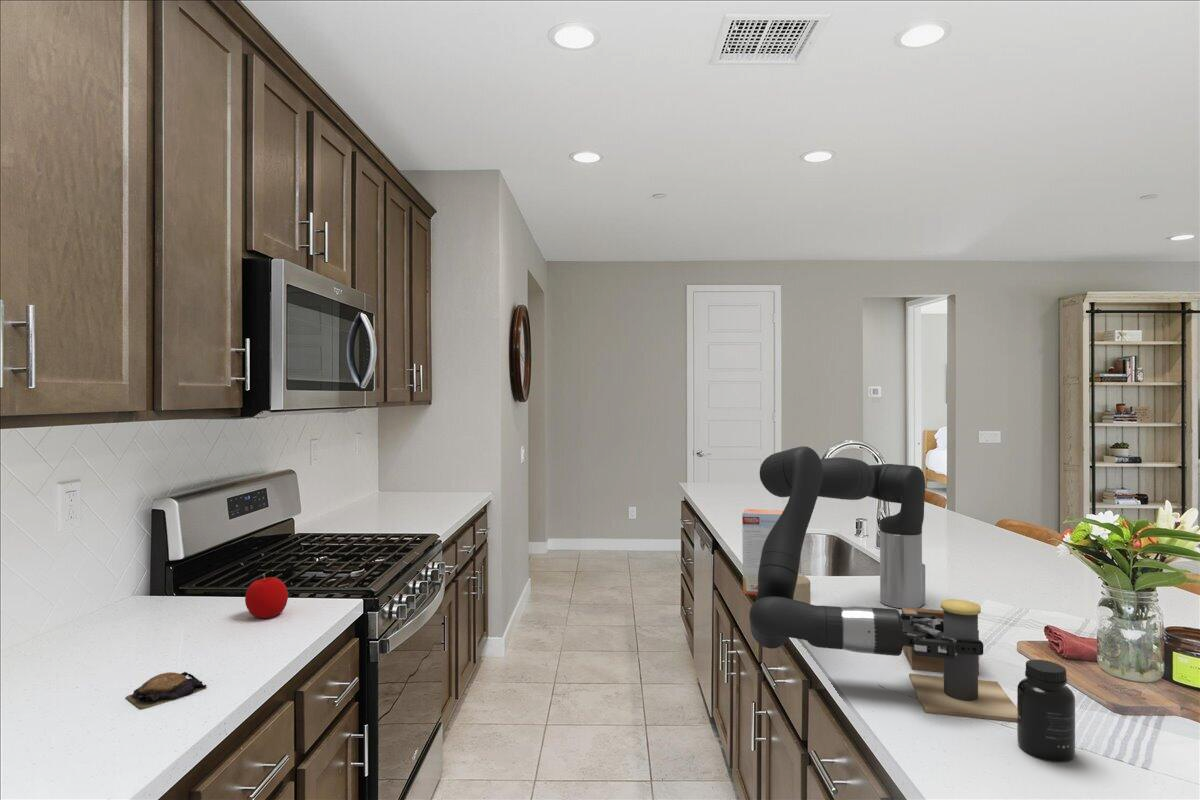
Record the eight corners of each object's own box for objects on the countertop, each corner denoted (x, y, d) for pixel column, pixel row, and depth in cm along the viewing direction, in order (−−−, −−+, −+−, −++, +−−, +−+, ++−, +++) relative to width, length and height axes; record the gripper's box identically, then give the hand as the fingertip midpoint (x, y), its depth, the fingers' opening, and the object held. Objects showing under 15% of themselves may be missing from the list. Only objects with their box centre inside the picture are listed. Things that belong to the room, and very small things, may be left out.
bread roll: (140, 715, 109) (140, 692, 109) (122, 700, 114) (122, 678, 114) (211, 692, 117) (211, 670, 117) (192, 679, 123) (192, 658, 122)
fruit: (238, 616, 156) (238, 572, 156) (279, 607, 163) (278, 565, 163) (254, 625, 150) (253, 580, 150) (295, 615, 157) (295, 572, 156)
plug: (959, 684, 116) (959, 597, 116) (989, 698, 110) (989, 607, 110) (933, 689, 114) (932, 601, 114) (962, 704, 108) (962, 611, 108)
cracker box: (801, 593, 172) (801, 510, 172) (800, 599, 166) (799, 514, 166) (745, 588, 177) (744, 507, 176) (742, 594, 171) (741, 511, 171)
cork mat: (908, 676, 120) (908, 673, 120) (997, 685, 117) (997, 681, 117) (925, 712, 107) (925, 708, 107) (1025, 722, 103) (1025, 719, 103)
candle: (811, 623, 149) (811, 577, 149) (785, 621, 150) (785, 576, 150) (809, 615, 155) (809, 571, 155) (784, 613, 156) (784, 570, 156)
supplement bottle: (1006, 739, 99) (1005, 656, 98) (1050, 737, 99) (1050, 655, 99) (1040, 765, 92) (1040, 676, 92) (1087, 762, 92) (1087, 674, 92)
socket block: (901, 647, 134) (901, 607, 134) (962, 652, 132) (962, 611, 132) (911, 669, 124) (911, 625, 124) (978, 675, 121) (978, 630, 121)
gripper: (875, 621, 109) (988, 630, 104) (864, 596, 122) (964, 602, 118) (875, 668, 109) (988, 678, 104) (864, 637, 122) (964, 645, 118)
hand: (975, 638), depth 111 cm, fingers open, 8 cm apart
